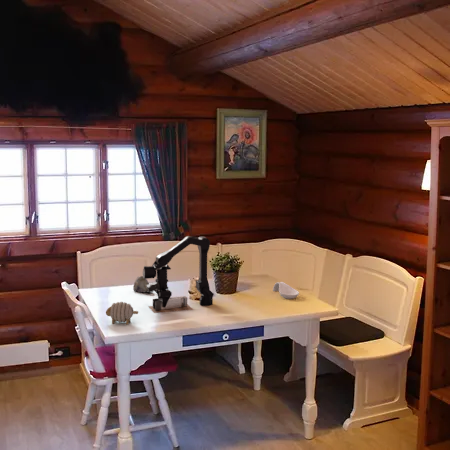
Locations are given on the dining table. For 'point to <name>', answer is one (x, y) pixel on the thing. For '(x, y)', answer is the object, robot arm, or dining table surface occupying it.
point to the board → (171, 309)
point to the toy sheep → (120, 312)
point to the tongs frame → (170, 298)
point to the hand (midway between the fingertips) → (162, 305)
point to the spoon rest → (285, 290)
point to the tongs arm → (170, 303)
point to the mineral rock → (140, 285)
